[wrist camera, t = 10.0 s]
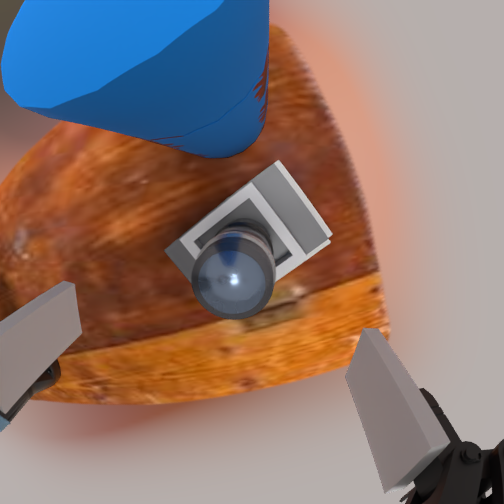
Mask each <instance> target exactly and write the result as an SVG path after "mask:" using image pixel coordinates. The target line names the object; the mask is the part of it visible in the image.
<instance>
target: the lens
mask: <svg viewBox="0 0 504 504" xmlns="http://www.w3.org/2000/svg"><path fill="white" fill-rule="evenodd" d="M275 280H276V266H275V261H274V251H273V244H272V241H271V239H270V235H269V233H268V231H267V230H266V229H265V227H264V226H263V225H261V224H260V223H259V222H257V221H255V220H252V219H246V218H242V219H237V220H234V221H232V222H230V223H228V224H227V225H225V226H224V227H222V228H221V229H220V230H219V231H218V232H217V234H216V235H215V236H214V238H212V239H211V240H210V241H208V242H207V243H206V244H205V246H204V247H203V248H202V249H201V251H200V252H199V254H198V256H197V259H196V262H195V264H194V266H193V270H192V275H191V283H192V288H193V292H194V294H195V296H196V298H197V299H198V301H199V302H200V304H201V305H202V306H203V307H204V308H205V309H207V310H208V311H209V312H211V313H212V314H214V315H216V316H219V317H222V318H226V319H243V318H247V317H250V316H252V315H254V314H256V313H258V312H259V311H260V310H261V309H262V308H263V307H264V306H265V305H266V304H267V303H268V301H269V299H270V297H271V295H272V291H273V287H274V284H275Z"/></svg>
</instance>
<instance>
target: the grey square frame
mask: <svg viewBox="0 0 504 504" xmlns="http://www.w3.org/2000/svg"><path fill="white" fill-rule="evenodd" d="M242 218H246V219H252V220H255V221H257V222H259V223H260V224H261V225H263V226H264V227H265V229H266V230H267V231H268V233H269V235H270V239H271V241H272V244H273V251H274V261H275V266H276V280H275V282H276V281H277V280H279V279H280V278H282V277H283V276H284V275H286V274H287V273H289V272H290V271H292V270H293V269H294V268H296V267H297V266H299V265H300V264H301V263H303V262H304V261H306V260H307V259H309V258H310V257H311V256H313V255H314V254H316V253H317V252H318V251H320V250H321V249H322V248H324V247H325V246H327V245H328V244H329V243H331V242H330V240H329V238H328V237H330V236H331V235H333V234H332V233H331V231H330V230H329V228H328V227H327V225H326V224H325V222H324V221H323V219H322V218H321V217H320V215H319V214H318V212H317V211H316V209H315V208H314V207H313V205H312V204H311V202H310V201H309V200H308V198H307V197H306V195H305V194H304V193H303V191H302V190H301V189H300V187H299V186H298V184H297V183H296V182H295V180H294V179H293V178H292V176H291V175H290V174H289V172H288V171H287V170H286V169H285V167H284V166H283V165H282V163H281V162H280V161H279V160H278V161H276V162H275V163H273V164H272V165H271V166H269V167H268V168H267V169H265V170H264V171H262V172H261V173H260V174H258V175H257V176H256V177H254V178H253V179H252V180H250V181H249V182H248V183H247V184H245V185H244V186H243V187H241V188H240V189H239V190H237V191H236V192H235V193H234V194H232V195H231V196H230V197H228V198H227V199H226V200H225V201H223V202H222V203H221V204H220V205H218V206H217V207H216V208H215V209H213V210H212V211H211V212H210V213H208V214H207V215H206V216H205V217H203V218H202V219H201V220H200V221H198V222H197V223H196V224H195V225H194V226H192V227H191V228H190V229H189V230H188V231H186V232H185V233H184V234H183V235H182V236H180V237H179V238H178V239H177V240H176V241H175V242H173V243H172V244H171V245H170V246H169V247H167V248H166V249H165V250H164V251H165V252H166V253H167V255H168V256H169V257H170V258H171V260H172V261H173V262H174V263H175V265H176V266H177V267H178V268H179V270H180V271H181V272H182V273H183V274H184V276H185V277H186V278H187V279H188V280H189V282H190V283H191V275H192V270H193V266H194V264H195V262H196V259H197V256H198V254H199V252H200V251H201V249H202V248H203V247H204V246H205V244H206V243H207V242H208V241H210V240H211V239H212V238H214V236H215V235H216V234H217V232H218V231H219V230H220V229H221V228H222V227H224V226H225V225H227V224H228V223H230V222H232V221H234V220H237V219H242ZM191 284H192V283H191Z"/></svg>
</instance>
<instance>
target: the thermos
mask: <svg viewBox="0 0 504 504" xmlns="http://www.w3.org/2000/svg"><path fill="white" fill-rule="evenodd" d="M268 63H269V0H25V2H24V3H23V5H22V6H21V8H20V10H19V12H18V14H17V16H16V18H15V20H14V22H13V24H12V26H11V29H10V30H9V32H8V35H7V39H6V43H5V47H4V52H3V56H2V61H1V70H2V77H3V84H4V90H5V91H6V92H7V93H8V94H9V95H10V97H12V98H13V100H14V101H15V102H16V103H17V104H18V105H19V106H20V107H23V108H25V109H28V110H31V111H33V112H36V113H38V114H41V115H44V116H46V117H49V118H53V119H59V120H64V121H69V122H74V123H78V124H83V125H88V126H92V127H96V128H101V129H105V130H109V131H113V132H117V133H121V134H125V135H129V136H132V137H136V138H140V139H143V140H147V141H150V142H154V143H157V144H161V145H164V146H168V147H171V148H174V149H177V150H181V151H184V152H187V153H191V154H194V155H198V156H201V157H205V158H226V157H230V156H233V155H235V154H238V153H240V152H243V151H244V150H245V149H247V148H248V147H249V146H250V145H251V144H252V143H254V142H255V141H256V139H257V137H258V136H259V134H260V132H261V131H262V129H263V126H264V123H265V117H266V111H267V105H268Z"/></svg>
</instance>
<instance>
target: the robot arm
mask: <svg viewBox="0 0 504 504" xmlns="http://www.w3.org/2000/svg"><path fill="white" fill-rule="evenodd" d="M81 334H82V330H81V324H80V318H79V312H78V306H77V299H76V291H75V284H74V283H70V282H66V281H62V282H61V283H59V284H57V285H56V286H54V287H53V288H51V289H49V290H48V291H46V292H45V293H43V294H41V295H40V296H38V297H37V298H35V299H34V300H32V301H30V302H29V303H27V304H26V305H24V306H23V307H21V308H20V309H18V310H17V311H15V312H14V313H12V314H11V315H9V316H8V317H7V318H5V319H4V320H2V321H1V322H0V432H1V431H2V430H3V429H4V428H5V427H6V426H7V425H8V424H10V422H11V421H12V419H13V418H14V417H15V416H16V414H17V413H18V412H19V411H20V410H21V409H22V407H23V406H24V405H25V404H26V403H27V401H28V400H29V399H30V398H31V397H32V396H33V395H34V394H35V393H38V392H40V391H42V390H44V389H46V388H49V387H51V386H53V385H54V384H55V383H56V382H57V381H58V379H59V378H60V367H59V364H58V361H57V358H58V357H59V356H60V355H61V354H62V353H63V352H64V351H65V350H66V349H67V348H68V347H69V346H70V345H71V344H72V343H73V342H74V341H75V340H76V339H77V338H78V337H79V336H80V335H81ZM345 378H346V381H347V383H348V386H349V389H350V391H351V394H352V397H353V400H354V402H355V405H356V408H357V411H358V414H359V416H360V419H361V422H362V425H363V428H364V431H365V434H366V436H367V439H368V443H369V446H370V449H371V452H372V455H373V458H374V461H375V464H376V467H377V470H378V473H379V477H380V480H381V483H382V486H383V490H384V493H385V494H386V493H390V492H394V491H398V490H401V489H404V488H405V487H406V486H407V485H408V484H410V483H411V482H412V481H414V484H415V487H414V488H413V489H412V490H411V491H409V492H408V493H407V494H406V495H404V497H402V498H401V500H400V502H402V501H404V500H405V499H406V498H408V499H407V501H406V503H405V504H504V439H503V440H502V441H501V442H500V443H499V444H498V445H497V446H496V447H495V448H494V449H490V450H481V449H480V448H479V447H478V446H477V445H476V444H474V443H472V442H467V441H465V442H462V441H461V440H460V438H459V437H458V435H457V433H456V432H455V430H454V428H453V427H452V425H451V423H450V422H449V420H448V419H447V417H446V415H444V414H443V413H444V412H443V411H442V409H441V408H440V407H439V405H438V403H437V401H436V400H435V398H434V397H433V396H432V395H431V394H430V393H429V392H428V391H426V390H425V389H424V388H421V389H418V387H417V386H416V384H415V382H414V381H413V379H412V378H411V376H410V375H409V373H408V372H407V370H406V368H405V367H404V365H403V364H402V362H401V361H400V359H399V358H398V357H397V355H396V354H395V352H394V351H393V349H392V348H391V346H390V345H389V343H388V342H387V340H386V339H385V338H384V336H383V335H382V333H381V332H380V330H379V329H372V328H363V330H362V333H361V336H360V339H359V342H358V344H357V347H356V350H355V353H354V355H353V358H352V360H351V363H350V366H349V368H348V371H347V373H346V376H345ZM491 487H492V494H491V495H490V496H488V497H487V498H486V496H485V492H486V491H488V490H489V489H490V488H491Z"/></svg>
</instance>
